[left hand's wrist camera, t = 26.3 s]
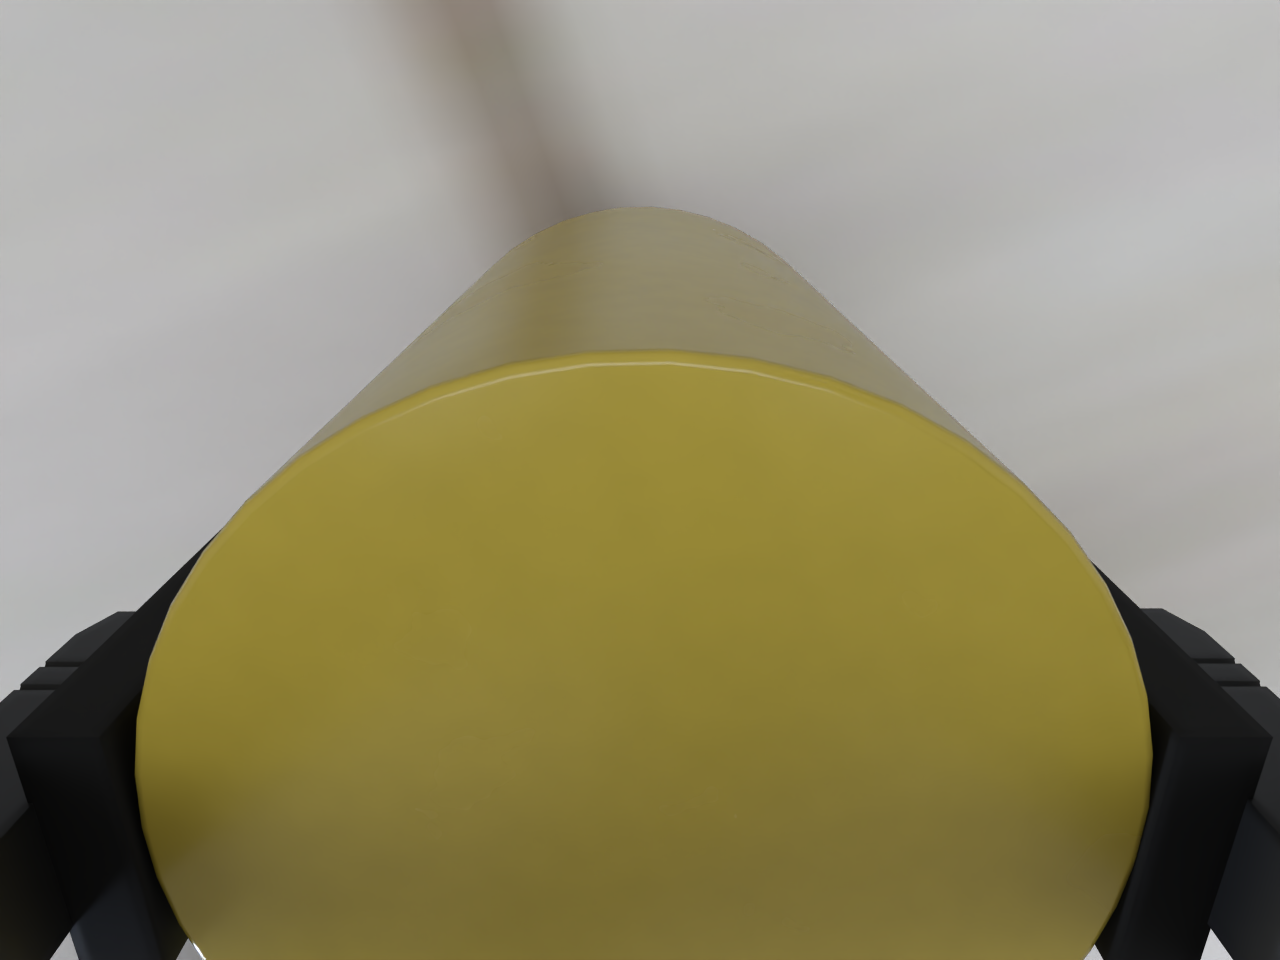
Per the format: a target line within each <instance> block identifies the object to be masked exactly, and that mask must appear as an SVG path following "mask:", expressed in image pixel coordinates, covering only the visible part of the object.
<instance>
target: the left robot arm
mask: <svg viewBox="0 0 1280 960" xmlns="http://www.w3.org/2000/svg"><path fill="white" fill-rule="evenodd" d="M220 531H221V530H220ZM220 531H219V532H220ZM219 532H218V533H219ZM218 533H217V534H218ZM217 534H216V535H217ZM216 535H215V536H214V537H213V538H212V539H211V540H210V541H209V542H208V543H207V544H206V545H205V546H203V547H202V548H201V549H200V550H199V551H198V552H197V553H196V554H195V555H194V556H193V557H192V558H191V559H190V560H189V561H188V562H187V563H186V564H185V565H184V566H183V567H182V568H181V569H180V570H179V571H178V572H177V573H176V574H174V575H173V576H172V577H171V578H170V579H169V580H168V581H167V582H166V583H165V584H164V585H163V586H162V587H161V588H160V589H159V590H158V591H157V592H156V593H155V594H154V595H153V596H152V597H151V598H150V599H149V600H148V601H147V602H146V603H144V604H143V605H142V606H141V607H140V608H139V609H138V610H137V611H136V612H116V613H115V614H113V615H111V616H109V617H107V618H105V619H103V620H102V621H100V622H98V623H96V624H94V625H92V626H90V627H89V628H87V629H85V630H83V631H81V632H79V633H77V634H76V635H74V636H73V637H72V638H71V639H70V640H69V641H68V642H67V643H66V644H64V645H63V646H62V647H61V648H60V649H59V650H58V651H57V652H56V653H55V654H53V655H52V656H51V657H50V658H49V659H48V660H47V661H46V665H45V667H39V668H38V669H37V670H36V671H35V672H33V673H32V674H31V675H30V676H29V677H28V678H27V679H26V680H25V681H24V682H22V683H21V687H20V690H14V691H12V692H11V693H10V694H9V695H8V696H7V697H6V698H5V699H4V700H2V701H1V702H0V960H50V959H51V957H52V956H53V954H54V953H55V952H56V950H57V949H58V947H59V946H60V944H61V943H62V942H63V940H64V939H65V937H66V936H67V935H68V933H69V932H70V934H71V937H72V940H73V943H74V946H75V949H76V952H77V955H78V959H79V960H176V959H177V957H178V955H179V953H180V951H181V950H182V948H183V946H184V944H185V942H186V941H187V939H188V937H187V935H186V934H185V932H184V931H183V929H182V928H181V926H180V925H179V923H178V921H177V919H176V917H175V914H174V912H173V910H172V908H171V906H170V904H169V902H168V900H167V898H166V895H165V893H164V891H163V889H162V887H161V885H160V883H159V881H158V879H157V876H156V873H155V870H154V866H153V863H152V860H151V856H150V853H149V850H148V846H147V843H146V840H145V836H144V833H143V830H142V825H141V818H140V810H139V803H138V795H137V787H136V780H135V755H136V727H137V715H138V710H139V705H140V700H141V696H142V691H143V686H144V681H145V676H146V672H147V667H148V662H149V658H150V656H151V653H152V651H153V648H154V645H155V643H156V640H157V638H158V635H159V633H160V630H161V628H162V625H163V623H164V620H165V618H166V615H167V613H168V610H169V608H170V605H171V603H172V601H173V600H174V598H175V597H176V595H177V593H178V592H179V590H180V588H181V587H182V585H183V583H184V582H185V580H186V578H187V577H188V575H189V573H190V572H191V570H192V569H193V567H194V565H195V564H196V562H197V560H198V559H199V557H200V555H201V554H202V552H203V551H204V549H205V548H206V547H207V546H208V545H209V544H210V542H211V541H212V540H213V539H214V538H215V537H216ZM1092 564H1093V563H1092ZM1093 565H1094V564H1093ZM1094 567H1095V568H1096V570H1097V571H1098V573H1099V574H1100V575H1101V577H1102V578H1103V580H1104V581H1105V583H1106V584H1107V587H1108V589H1109V591H1110V593H1111V595H1112V597H1113V599H1114V601H1115V604H1116V606H1117V608H1118V610H1119V612H1120V614H1121V616H1122V619H1123V621H1124V623H1125V625H1126V627H1127V629H1128V631H1129V634H1130V636H1131V638H1132V641H1133V645H1134V649H1135V652H1136V656H1137V660H1138V663H1139V667H1140V671H1141V674H1142V678H1143V682H1144V685H1145V689H1146V693H1147V698H1148V708H1149V719H1150V729H1151V740H1152V750H1153V759H1152V773H1151V786H1150V800H1149V809H1148V813H1147V817H1146V821H1145V825H1144V829H1143V833H1142V837H1141V840H1140V844H1139V848H1138V852H1137V856H1136V859H1135V862H1134V866H1133V868H1132V871H1131V873H1130V876H1129V878H1128V880H1127V883H1126V885H1125V888H1124V890H1123V893H1122V895H1121V897H1120V900H1119V902H1118V905H1117V907H1116V909H1115V910H1114V912H1113V914H1112V915H1111V917H1110V919H1109V920H1108V922H1107V924H1106V925H1105V927H1104V929H1103V931H1102V932H1101V934H1100V936H1099V937H1098V939H1097V941H1096V942H1095V945H1096V947H1097V949H1098V951H1099V953H1100V954H1101V956H1102V958H1103V960H1200V959H1201V956H1202V953H1203V950H1204V947H1205V944H1206V941H1207V938H1208V935H1209V932H1210V929H1212V931H1213V932H1214V933H1215V935H1216V936H1217V938H1218V939H1219V940H1220V942H1221V943H1222V945H1223V946H1224V947H1225V949H1226V950H1227V952H1228V953H1229V955H1230V956H1231V957H1232V959H1233V960H1280V699H1279V698H1278V697H1277V696H1276V695H1275V694H1274V693H1273V692H1272V691H1271V690H1269V689H1268V688H1267V687H1261V686H1260V681H1259V680H1258V679H1257V678H1256V677H1255V676H1254V675H1253V674H1252V673H1250V672H1249V671H1248V670H1247V669H1246V668H1245V667H1244V666H1243V665H1242V664H1235V661H1234V660H1235V658H1234V657H1233V656H1232V655H1230V654H1229V653H1228V652H1227V651H1226V650H1225V649H1224V648H1223V647H1221V646H1220V645H1219V644H1218V643H1217V642H1216V641H1215V640H1214V639H1213V638H1211V637H1210V636H1209V635H1208V634H1207V633H1206V632H1205V631H1203V630H1201V629H1199V628H1197V627H1195V626H1194V625H1192V624H1190V623H1188V622H1186V621H1184V620H1182V619H1181V618H1179V617H1177V616H1175V615H1173V614H1171V613H1169V612H1167V611H1166V610H1164V609H1140V608H1139V607H1138V606H1137V605H1136V604H1135V603H1134V602H1133V601H1132V600H1131V599H1130V598H1129V597H1128V596H1127V595H1126V594H1124V593H1123V592H1122V591H1121V590H1120V589H1119V588H1118V587H1117V586H1116V585H1115V584H1114V583H1113V582H1112V581H1111V580H1110V579H1109V578H1108V577H1107V576H1106V575H1105V574H1104V573H1103V572H1102V571H1101V570H1100V569H1099V568H1098V567H1097V566H1096V565H1094Z"/></svg>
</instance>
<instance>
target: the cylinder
mask: <svg viewBox="0 0 1280 960" xmlns="http://www.w3.org/2000/svg"><path fill="white" fill-rule="evenodd" d="M1152 759H1153V750H1152V740H1151V729H1150V719H1149V708H1148V698H1147V693H1146V689H1145V685H1144V682H1143V678H1142V674H1141V671H1140V667H1139V663H1138V660H1137V656H1136V652H1135V649H1134V645H1133V641H1132V638H1131V636H1130V634H1129V631H1128V629H1127V627H1126V625H1125V623H1124V621H1123V619H1122V616H1121V614H1120V612H1119V610H1118V608H1117V606H1116V604H1115V601H1114V599H1113V597H1112V595H1111V593H1110V591H1109V589H1108V587H1107V584H1106V583H1105V581H1104V580H1103V578H1102V577H1101V575H1100V574H1099V573H1098V571H1097V570H1096V568H1095V567H1094V565H1093V564H1092V562H1091V561H1090V560H1089V558H1088V557H1087V555H1086V554H1085V552H1084V551H1083V549H1082V548H1081V546H1080V545H1079V544H1078V542H1077V541H1076V539H1075V538H1074V536H1073V535H1072V533H1071V532H1070V531H1069V530H1068V529H1067V528H1066V527H1065V526H1064V525H1063V524H1062V522H1061V521H1060V520H1059V519H1058V518H1057V517H1056V516H1055V515H1054V514H1053V513H1052V512H1051V511H1050V510H1049V509H1048V508H1047V507H1046V506H1045V505H1044V504H1043V503H1042V502H1041V501H1040V500H1039V498H1038V497H1037V496H1036V495H1035V494H1034V493H1033V492H1032V491H1031V490H1030V489H1029V488H1028V487H1027V486H1026V485H1025V484H1024V483H1023V482H1022V481H1021V480H1020V479H1019V478H1018V477H1017V476H1016V475H1015V474H1013V473H1012V472H1011V471H1010V470H1009V469H1008V468H1007V467H1006V466H1005V465H1004V464H1003V463H1002V462H1001V461H999V460H998V459H997V458H996V457H995V456H994V455H993V454H992V453H991V452H990V451H989V450H988V449H987V448H985V447H984V446H983V445H982V444H981V443H980V442H979V441H978V440H977V439H976V438H975V437H974V436H973V435H971V434H970V433H969V432H968V431H967V430H966V429H965V428H964V427H963V426H962V425H961V424H960V423H959V422H957V421H956V420H955V419H954V418H953V417H952V416H951V415H950V414H949V413H948V412H947V411H946V410H945V409H943V408H942V407H941V406H940V405H939V404H938V403H937V402H936V401H935V400H934V399H933V398H932V397H931V396H929V395H928V394H927V393H926V392H925V391H924V390H923V389H922V388H921V387H920V386H919V385H918V384H917V383H916V382H914V381H913V380H912V379H911V378H910V377H909V376H908V375H907V374H906V373H905V372H904V371H903V370H902V369H900V368H899V367H898V366H897V365H896V364H895V363H894V362H893V361H892V360H891V359H890V358H889V357H888V356H886V355H885V354H884V353H883V352H882V351H881V350H880V349H879V348H878V347H877V346H876V345H875V344H874V343H872V342H871V341H870V340H869V339H868V338H867V337H866V336H865V335H864V334H863V333H862V332H861V331H860V330H858V329H857V328H856V327H855V326H854V325H853V324H852V323H851V322H850V321H849V320H848V319H847V318H846V317H844V316H843V315H842V314H841V313H840V312H839V311H838V310H837V309H836V308H835V307H834V306H833V305H832V304H831V303H829V302H828V301H827V300H826V299H825V298H824V297H823V296H822V295H821V294H820V293H819V292H818V291H817V290H815V289H814V288H813V287H812V286H811V285H810V284H809V283H808V282H807V281H806V280H805V279H804V278H803V277H801V276H800V275H799V274H798V273H797V272H796V271H795V270H794V269H793V268H792V267H791V266H790V265H789V264H787V263H786V262H785V261H784V260H783V259H782V258H780V257H779V256H778V255H776V254H775V253H774V252H773V251H771V250H770V249H769V248H768V247H766V246H765V245H764V244H762V243H761V242H759V241H757V240H756V239H754V238H752V237H750V236H749V235H747V234H745V233H744V232H742V231H740V230H738V229H737V228H734V227H732V226H729V225H727V224H724V223H722V222H719V221H717V220H714V219H712V218H710V217H706V216H702V215H698V214H694V213H690V212H686V211H682V210H675V209H667V208H658V207H621V208H615V209H609V210H602V211H596V212H591V213H588V214H584V215H581V216H578V217H575V218H571V219H568V220H565V221H562V222H560V223H558V224H556V225H554V226H551V227H549V228H547V229H545V230H543V231H541V232H539V233H536V234H535V235H533V236H532V237H530V238H529V239H527V240H526V241H524V242H523V243H521V244H519V245H518V246H516V247H515V248H513V249H512V250H511V251H509V252H508V253H507V254H506V255H505V256H504V257H503V258H501V259H500V260H499V261H498V262H497V263H496V264H494V265H493V266H492V267H491V268H490V269H489V270H488V271H487V272H486V273H485V274H484V275H483V276H481V277H480V278H479V279H478V280H477V281H476V282H475V283H474V284H473V285H472V286H471V287H470V288H469V289H468V290H467V291H466V292H465V293H464V294H463V295H462V296H460V297H459V298H458V299H457V300H456V301H455V302H454V303H453V304H452V305H451V306H450V307H449V308H448V309H447V310H446V311H445V312H444V313H443V314H442V315H441V316H439V317H438V318H437V319H436V320H435V321H434V322H433V323H432V324H431V325H430V326H429V327H428V328H427V329H426V330H425V331H424V332H423V333H422V334H421V335H420V336H418V337H417V338H416V339H415V340H414V341H413V342H412V343H411V344H410V345H409V346H408V347H407V348H406V349H405V350H404V351H403V352H402V353H401V354H400V355H399V356H398V357H396V358H395V359H394V360H393V361H392V362H391V363H390V364H389V365H388V366H387V367H386V368H385V369H384V370H383V371H382V372H381V373H380V374H379V375H378V376H377V377H375V378H374V379H373V380H372V381H371V382H370V383H369V384H368V385H367V386H366V387H365V388H364V389H363V390H362V391H361V392H360V393H359V394H358V395H357V396H356V397H354V398H353V399H352V400H351V401H350V402H349V403H348V404H347V405H346V406H345V407H344V408H343V409H342V410H341V411H340V412H339V413H338V414H337V415H336V416H335V417H333V418H332V419H331V420H330V421H329V422H328V423H327V424H326V425H325V426H324V427H323V428H322V429H321V430H320V431H319V432H318V433H317V434H316V435H315V436H314V437H312V438H311V439H310V440H309V441H308V442H307V443H306V444H305V445H304V446H303V447H302V448H301V449H300V450H299V451H298V452H297V453H296V454H295V455H294V456H293V457H291V458H290V459H289V460H288V461H287V462H286V463H285V464H284V465H283V466H282V467H281V468H280V469H279V470H278V471H277V472H276V473H275V474H274V475H273V476H272V477H271V478H269V479H268V480H267V481H266V482H265V483H264V484H263V485H262V486H261V487H260V488H259V489H258V490H257V491H256V492H255V493H254V494H253V495H252V496H251V497H250V498H248V499H247V500H246V501H245V503H244V504H243V505H242V506H241V507H240V508H239V510H238V511H237V512H236V513H235V514H234V515H233V517H232V518H231V519H230V520H229V521H228V522H227V524H226V525H225V526H224V527H223V528H222V529H221V531H220V532H219V533H218V534H217V535H216V537H215V538H214V539H213V540H212V541H211V542H210V544H209V545H208V546H207V547H206V548H205V549H204V551H203V552H202V554H201V555H200V557H199V559H198V560H197V562H196V564H195V565H194V567H193V569H192V570H191V572H190V573H189V575H188V577H187V578H186V580H185V582H184V583H183V585H182V587H181V588H180V590H179V592H178V593H177V595H176V597H175V598H174V600H173V601H172V603H171V605H170V608H169V610H168V613H167V615H166V618H165V620H164V623H163V625H162V628H161V630H160V633H159V635H158V638H157V640H156V643H155V645H154V648H153V651H152V653H151V656H150V658H149V662H148V667H147V672H146V676H145V681H144V686H143V691H142V696H141V700H140V705H139V710H138V715H137V727H136V755H135V780H136V787H137V795H138V803H139V810H140V818H141V825H142V830H143V833H144V836H145V840H146V843H147V846H148V850H149V853H150V856H151V860H152V863H153V866H154V870H155V873H156V876H157V879H158V881H159V883H160V885H161V887H162V889H163V891H164V893H165V895H166V898H167V900H168V902H169V904H170V906H171V908H172V910H173V912H174V914H175V917H176V919H177V921H178V923H179V925H180V926H181V928H182V929H183V931H184V932H185V934H186V935H187V937H188V938H189V940H190V941H191V943H192V944H193V946H194V947H195V949H196V950H197V952H198V953H199V955H200V956H201V958H202V959H203V960H1084V958H1085V957H1086V956H1087V955H1088V953H1089V952H1090V951H1091V949H1092V947H1093V946H1094V944H1095V942H1096V941H1097V939H1098V937H1099V936H1100V934H1101V932H1102V931H1103V929H1104V927H1105V925H1106V924H1107V922H1108V920H1109V919H1110V917H1111V915H1112V914H1113V912H1114V910H1115V909H1116V907H1117V905H1118V902H1119V900H1120V897H1121V895H1122V893H1123V890H1124V888H1125V885H1126V883H1127V880H1128V878H1129V876H1130V873H1131V871H1132V868H1133V866H1134V862H1135V859H1136V856H1137V852H1138V848H1139V844H1140V840H1141V837H1142V833H1143V829H1144V825H1145V821H1146V817H1147V813H1148V809H1149V800H1150V786H1151V773H1152Z"/></svg>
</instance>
